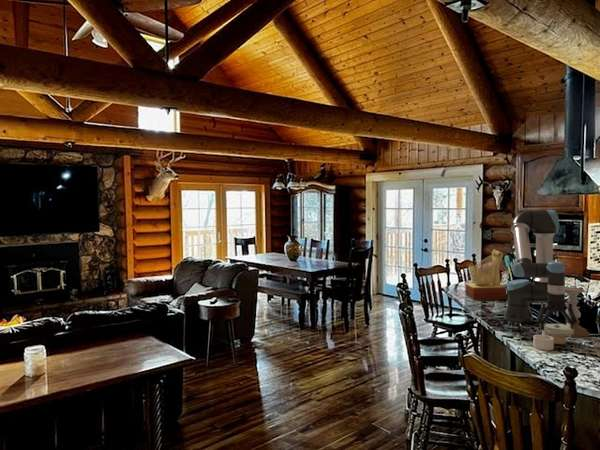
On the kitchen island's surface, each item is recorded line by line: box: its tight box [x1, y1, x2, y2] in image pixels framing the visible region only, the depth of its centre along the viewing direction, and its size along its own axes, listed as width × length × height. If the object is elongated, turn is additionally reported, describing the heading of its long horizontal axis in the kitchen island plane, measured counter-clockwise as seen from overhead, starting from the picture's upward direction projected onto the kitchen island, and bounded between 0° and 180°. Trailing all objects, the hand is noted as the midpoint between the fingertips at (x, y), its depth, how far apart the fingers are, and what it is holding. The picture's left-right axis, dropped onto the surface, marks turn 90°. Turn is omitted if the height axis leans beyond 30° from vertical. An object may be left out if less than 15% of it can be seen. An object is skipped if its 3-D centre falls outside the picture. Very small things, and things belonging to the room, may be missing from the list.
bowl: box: [532, 334, 555, 351], centre depth 213 cm, size 8×8×5 cm
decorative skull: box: [480, 262, 503, 284], centre depth 363 cm, size 18×26×20 cm, turn 171°
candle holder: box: [564, 286, 591, 338], centre depth 233 cm, size 11×11×24 cm
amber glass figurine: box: [465, 248, 507, 301], centre depth 325 cm, size 25×18×35 cm
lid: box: [545, 323, 574, 334], centre depth 221 cm, size 11×11×3 cm
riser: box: [546, 332, 567, 345], centre depth 221 cm, size 6×6×6 cm
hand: (556, 336), depth 221 cm, fingers closed on lid, 11 cm apart
